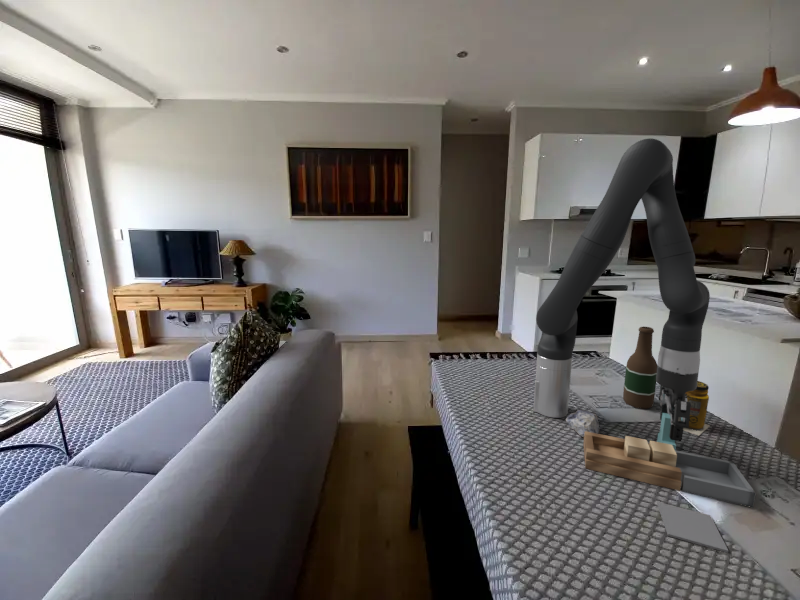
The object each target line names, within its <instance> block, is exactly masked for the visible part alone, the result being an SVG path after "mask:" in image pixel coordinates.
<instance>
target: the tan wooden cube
mask: <svg viewBox="0 0 800 600" xmlns="http://www.w3.org/2000/svg"><path fill="white" fill-rule="evenodd" d="M624 439H625V445H624V454H625V456H626V457H630V458H635V459H640V460H644V461H649V457H650V447H649V445H648V444H649V442H648V440H647V439H644V438H638V437H633V436H628V435H625V437H624Z"/></svg>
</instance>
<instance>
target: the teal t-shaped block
mask: <svg viewBox="0 0 800 600" xmlns="http://www.w3.org/2000/svg"><path fill="white" fill-rule="evenodd" d="M670 421H671V418H670V415H669V414H667V413H662V419H661V420H660V427H659V428H660V429H659V432H657V440H656V442H661V443H666V444H671V445H672V446H673V448H674V450H676V449H677V444H676V441H675V440H671V439H670V437H669V434H670V426H671V422H670ZM676 451H677V450H676Z"/></svg>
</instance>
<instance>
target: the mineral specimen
mask: <svg viewBox="0 0 800 600" xmlns="http://www.w3.org/2000/svg"><path fill="white" fill-rule="evenodd" d="M598 419H599V417H598V416H597V414H596V413H593V412H590V411H588V410H586V409H585V410H583V409H578V410H576V412H571V413H570V414H567V415H566V418H565V421H566V423H567V425H568V426H569V428H570V429H572V430H573V431H575V432H576V433H577V434H578V435H579V436H580V437H582V438H584V433H585V431H586V432H591V433H596V434H600V425H599V424H600V423H599V421H598Z"/></svg>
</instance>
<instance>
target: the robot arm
mask: <svg viewBox="0 0 800 600" xmlns="http://www.w3.org/2000/svg"><path fill="white" fill-rule="evenodd" d="M673 162H674V157H673V153H672V152H671V150H670V149H669V148H668V146H667V145H666V144H665V143H664V142H663V141H661V140H659V139H656V138H644V139H640V140H638V141H636V142H635V143H633V144H632V145H631V146H629V147H628V148H627V150H625V152H624V153H623V155H622V156H621V158H620V160H619V162H618V164H617V167H616V170H615V172H614V173H613V176H612V179H611V181H610V183H609V185H608V187H607V189H606V192H605V195H604V196H603V198H602V200H601V201H600V203H599V205H598V206H597V208H596V209H595V211H594V213H593V214H592V216H591V218H590V220H589V221H588V223H587V225H586V227H584V230H583V231H582V234H581V235H580V237H579V239H578V240H577V241H576V244H575V245H574V247H573V249H572V252H571V254H570V255H569V258H568V259H567V261H566V264H565V266H564V268H563V270H562V271H561V274H560V277H559V279H558V280H557V282H556V284H555V286H554V287H553V289H552V290H551V292H550V293H549V295H548V296H547V298H546V299H545V300H544V302H543V303H542V304H541V306H540V307H539V308H538V310H537V313H536V320H535V321H536V324H537V327H538V329H539V330H540V331H541V337H540V340H539V342H538V344H537V352H536V370H535V380H534V394H533V409H532V410H533V412H535V413H538V414H540V415H542V416H544V417H549V418H554V419H557V418H559V419H560V418H564V417H567V416H568V415H569V414H568V413H569V404H570V403H569V402H570V390H571V377H572V376H571V375H572V364H573V352H574V350H575V349H574V348H575V345H576V339H577V337H576V336H577V330H578V311H577V309H578V307H579V306H580V303H581V301H582V300H583V298H584V296H585V295H586V294H587V292H588V291H589V290H590V289H591V288H592V287H593V285H595V283H596V282H597V281H598V280H599V279H600V277H602V274H603V273H604V272H605V271H606V270H607V268H608V267H609V265H611V263H612V261H613V259H614V258H615V256H616V255H617V253H618V251H619V250H620V248H621V246H622V244H623V242H624V240H625V237H626V235H627V233H628V229H629V227H630V226H629V225H630V223H631V219H632V216H633V214H634V212H635V209H636V207H637V206H638V205H639V203H640V201H641V202H642V204H643V208H644V211H645V212H644V213H645V217H646V223H647V230H648V231H647V232H648V239H649V240H648V241H649V244H650V247H651V251H652V255H653V257H654V261H655V265H656V267H657V274H658V286H659V287H658V288H659V293H660V297H661V300H662V302H663V305H665V308H667V309H668V310H669V311H668V319H667V321H666V322H665V323H664V325H663V327H662V332H661V339H660V340H661V341H660V348H659V351H658V356H657V374H656V384H658V385H659V386H660V387H659V393H658V394H659V395H658V401H659V405H660V407H661V408H660V413H659V414H660V416H659V420H660V421H661V419H662V413H667V414H669V415H670V418H671V421H670V422H671V426H670V434H669V437H670V439H671V440H675V442H682V441H683V434H684V431H683V428H688V427H689V418H690V408H691V403H690V402H688V401H687V397H686V396H685V393H686V392H688V391H693V390H695V389H696V388H697V381H699V373H700V366H701V351H700V350H701V345H702V337H703V335H702V334H703V332H702V331H703V326H704V323H705V320H706V318H707V317H706V316H707V313H708V309H709V306H710V305H709V304H710V297H711V296H710V290H709V289H708V287H707V286H706V284H704V283H703V282H702V281H699V280H697V276H696V272H695V268H694V267H695V265H696V255H695V252H694V248H693V245H692V241H691V238H690V236H689V231H688V229H687V226H686V223H685V221H684V217H683V215H682V212H681V209H680V206H679V202H678V199H677V193H676V189H675V181H674V180H675V179H674V167H673V166H674V163H673ZM678 417H681V421H679V420H678Z"/></svg>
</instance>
